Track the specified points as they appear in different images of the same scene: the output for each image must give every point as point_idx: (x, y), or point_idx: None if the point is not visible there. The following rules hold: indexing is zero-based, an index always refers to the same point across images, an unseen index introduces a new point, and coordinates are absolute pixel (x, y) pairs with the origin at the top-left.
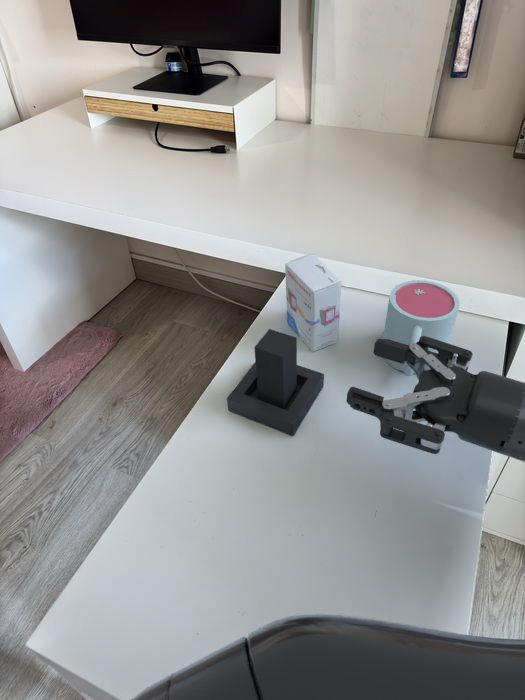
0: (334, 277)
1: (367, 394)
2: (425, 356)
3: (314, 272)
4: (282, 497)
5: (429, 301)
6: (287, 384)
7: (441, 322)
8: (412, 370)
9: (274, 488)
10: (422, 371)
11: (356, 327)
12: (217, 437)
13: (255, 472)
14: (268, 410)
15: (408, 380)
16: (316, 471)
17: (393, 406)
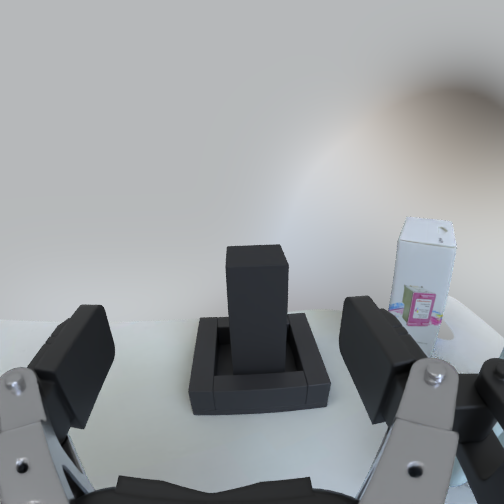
0: (450, 241)
1: (67, 334)
2: (413, 426)
3: (429, 229)
4: (81, 431)
5: None
6: (246, 343)
7: None
8: (456, 477)
9: (93, 420)
10: (310, 480)
11: (468, 371)
12: (156, 346)
13: (114, 394)
14: (201, 357)
15: (454, 492)
16: (137, 463)
17: (3, 396)
